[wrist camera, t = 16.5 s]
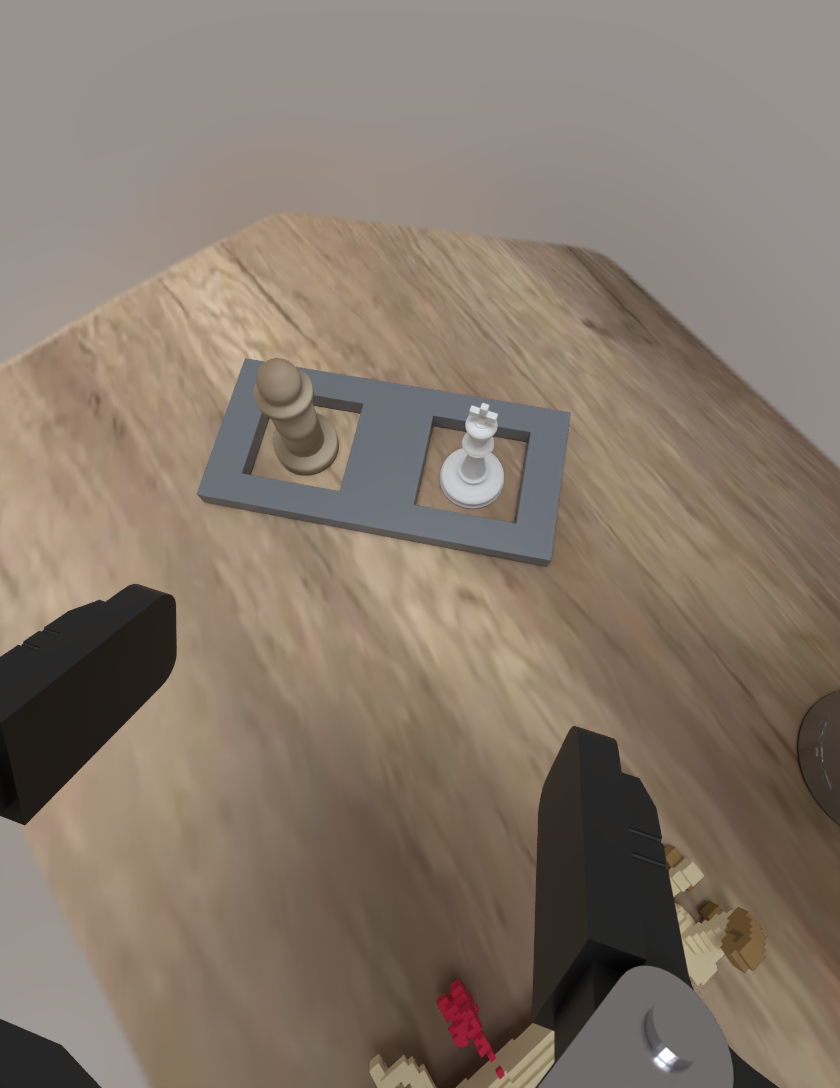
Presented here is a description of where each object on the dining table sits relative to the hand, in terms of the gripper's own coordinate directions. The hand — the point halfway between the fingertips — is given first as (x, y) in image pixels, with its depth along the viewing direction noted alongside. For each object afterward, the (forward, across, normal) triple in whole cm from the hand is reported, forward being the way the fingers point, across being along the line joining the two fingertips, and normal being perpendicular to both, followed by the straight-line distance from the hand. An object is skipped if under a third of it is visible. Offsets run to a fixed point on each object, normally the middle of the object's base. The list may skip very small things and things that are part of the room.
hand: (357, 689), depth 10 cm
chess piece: (+31, 0, +7) cm, 32 cm away
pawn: (+30, +13, +7) cm, 34 cm away
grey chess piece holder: (+31, +7, +7) cm, 32 cm away
